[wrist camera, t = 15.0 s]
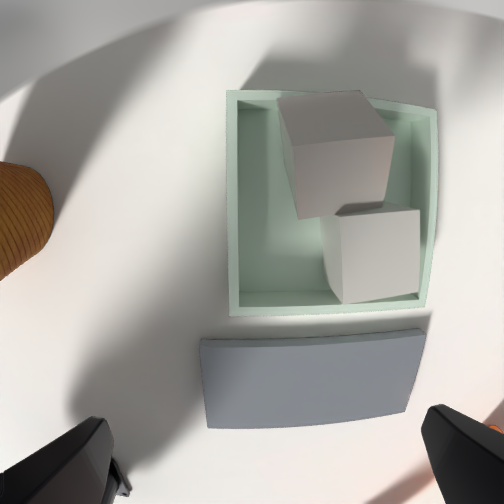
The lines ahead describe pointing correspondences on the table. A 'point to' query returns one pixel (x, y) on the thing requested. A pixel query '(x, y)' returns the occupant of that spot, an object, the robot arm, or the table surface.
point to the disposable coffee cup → (22, 215)
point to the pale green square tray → (308, 230)
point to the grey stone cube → (334, 152)
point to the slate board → (308, 379)
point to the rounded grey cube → (371, 253)
